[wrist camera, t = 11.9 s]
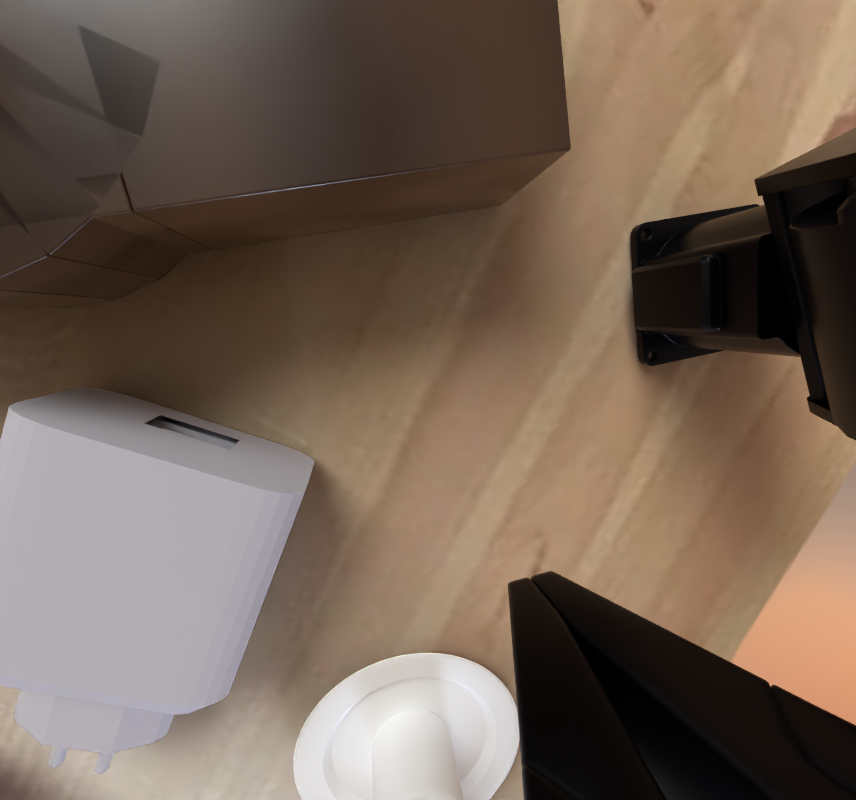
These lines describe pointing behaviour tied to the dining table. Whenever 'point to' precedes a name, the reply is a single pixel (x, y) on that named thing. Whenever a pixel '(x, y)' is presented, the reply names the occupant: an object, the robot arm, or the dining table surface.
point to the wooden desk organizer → (255, 126)
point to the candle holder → (409, 733)
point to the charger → (131, 563)
